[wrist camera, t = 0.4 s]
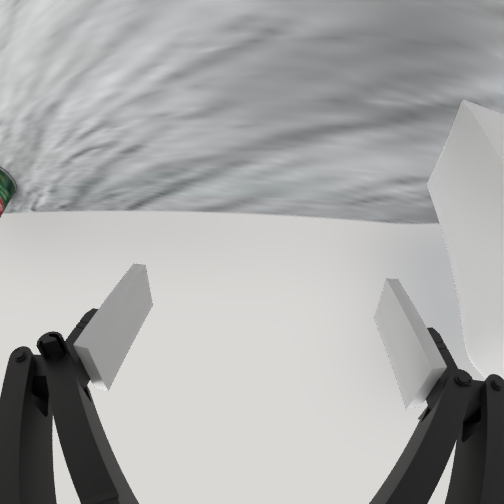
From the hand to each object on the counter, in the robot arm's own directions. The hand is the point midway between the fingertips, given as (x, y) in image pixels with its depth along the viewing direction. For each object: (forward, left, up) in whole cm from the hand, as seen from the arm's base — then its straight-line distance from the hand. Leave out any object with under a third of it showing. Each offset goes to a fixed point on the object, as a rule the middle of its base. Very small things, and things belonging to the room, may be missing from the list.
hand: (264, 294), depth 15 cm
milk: (-1, +22, -17) cm, 27 cm away
